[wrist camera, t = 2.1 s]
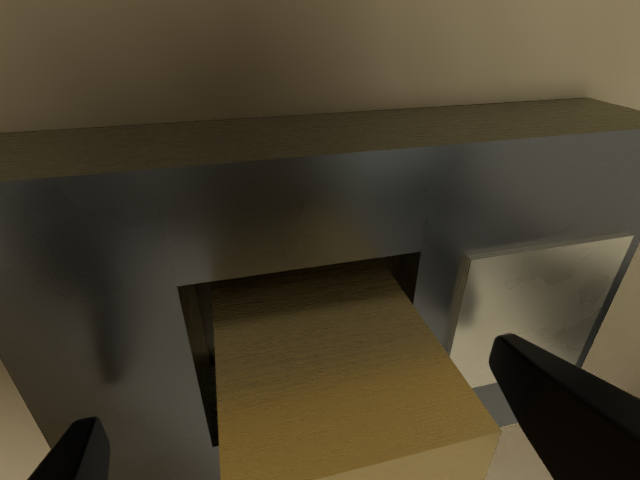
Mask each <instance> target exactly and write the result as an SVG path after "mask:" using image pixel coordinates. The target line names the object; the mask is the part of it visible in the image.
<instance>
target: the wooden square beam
mask: <svg viewBox="0 0 640 480" xmlns="http://www.w3.org/2000/svg"><path fill="white" fill-rule="evenodd" d="M212 301H213V323H214V346H215V368H216V390H217V412H218V435H219V457H220V479H221V480H484V479H485V477H486V474H487V471H488V468H489V466H490V463H491V460H492V458H493V455H494V452H495V449H496V447H497V444H498V441H499V438H500V436H501V433H502V430H501V429H500V428H499V426H498V425H497V423H496V422H495V421H494V419H493V418H492V416H491V415H490V413H489V412H488V411H487V409H486V408H485V406H484V405H483V403H482V402H481V401H480V399H479V398H478V396H477V395H476V394H475V392H474V391H473V389H472V388H471V386H470V385H469V384H468V382H467V381H466V379H465V378H464V377H463V375H462V374H461V372H460V371H459V369H458V368H457V367H456V365H455V364H454V362H453V361H452V359H451V358H450V357H449V355H448V354H447V352H446V351H445V350H444V348H443V347H442V345H441V344H440V342H439V341H438V340H437V338H436V337H435V335H434V334H433V332H432V331H431V330H430V328H429V327H428V325H427V324H426V323H425V321H424V320H423V318H422V317H421V315H420V314H419V313H418V311H417V310H416V308H415V307H414V305H413V304H412V303H411V301H410V300H409V298H408V297H407V296H406V294H405V293H404V291H403V290H402V288H401V287H400V286H399V284H398V283H397V281H396V280H395V278H394V277H393V276H392V274H391V273H390V271H389V270H388V269H387V267H386V266H385V264H384V263H383V261H382V260H381V259H380V257H379V258H372V259H365V260H358V261H351V262H344V263H337V264H330V265H323V266H316V267H309V268H302V269H295V270H288V271H281V272H274V273H267V274H260V275H253V276H246V277H239V278H232V279H225V280H218V281H212Z"/></svg>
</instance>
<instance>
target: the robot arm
mask: <svg viewBox="0 0 640 480" xmlns="http://www.w3.org/2000/svg"><path fill="white" fill-rule="evenodd" d="M489 366H490V369H491V371H492V373H493V375H494V377H495V379H496V381H497V383H498V385H499V387H500V389H501V391H502V393H503V395H504V397H505V398H506V400H507V402H508V404H509V406H510V408H511V410H512V412H513V414H514V416H515V418H516V420H517V421H518V423H519V425H520V427H521V428H522V430H523V432H524V433H525V435H526V437H527V438H528V440H529V441H530V443H531V445H532V446H533V448H534V449H535V451H536V452H537V454H538V455H539V457H540V459H541V460H542V462H543V463H544V465H545V466H546V468H547V470H548V471H549V473H550V474H551V476H552V477H553V479H554V480H640V399H639V398H637V397H635V396H633V395H631V394H629V393H627V392H625V391H623V390H621V389H619V388H618V387H616V386H614V385H612V384H610V383H608V382H606V381H604V380H602V379H600V378H598V377H596V376H595V375H593V374H591V373H589V372H587V371H585V370H583V369H581V368H579V367H577V366H575V365H573V364H572V363H570V362H568V361H566V360H564V359H562V358H560V357H558V356H556V355H554V354H552V353H550V352H548V351H547V350H545V349H543V348H541V347H539V346H537V345H535V344H533V343H531V342H529V341H527V340H525V339H524V338H522V337H520V336H518V335H516V334H513V333H508V334H503V335H498V336H497V337H496V338H495V339H494V342H493V345H492V349H491V352H490V356H489ZM109 462H110V442H109V439H108V436H107V434H106V432H105V429H104V427H103V425H102V423H101V420H100V419H99V418H98V417H97V416H92V417H87V418H82V419H78V420H76V421H74V422H73V423H72V424H71V425H70V426H69V428H68V429H67V430H66V431H65V433H64V434H63V435H62V436H61V438H60V439H59V440H58V441H57V443H56V444H55V445H54V447H53V448H52V449H51V450H50V452H49V453H48V454H47V455H46V457H45V458H44V459H43V460H42V462H41V463H40V464H39V465H38V467H37V468H36V469H35V471H34V472H33V473H32V474H31V476H30V477H29V478H28V479H27V480H108V475H109Z"/></svg>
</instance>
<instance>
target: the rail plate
mask: <svg viewBox="0 0 640 480" xmlns="http://www.w3.org/2000/svg"><path fill="white" fill-rule="evenodd" d="M639 242H640V111H639V110H635V109H631V108H627V107H623V106H619V105H615V104H611V103H607V102H603V101H599V100H595V99H591V98H577V99H561V100H544V101H528V102H511V103H495V104H478V105H462V106H445V107H429V108H412V109H396V110H379V111H363V112H346V113H330V114H313V115H297V116H280V117H264V118H247V119H231V120H214V121H198V122H181V123H164V124H148V125H131V126H115V127H98V128H82V129H65V130H49V131H32V132H16V133H0V358H1V360H2V362H3V364H4V366H5V367H6V369H7V371H8V373H9V375H10V376H11V378H12V380H13V382H14V384H15V385H16V387H17V389H18V391H19V393H20V394H21V396H22V398H23V400H24V401H25V403H26V405H27V407H28V409H29V410H30V412H31V414H32V416H33V418H34V419H35V421H36V423H37V425H38V427H39V428H40V430H41V432H42V434H43V436H44V437H45V439H46V441H47V443H48V445H49V446H50V448H51V449H52V448H53V447H54V445H55V444H56V443H57V441H58V440H59V439H60V438H61V436H62V435H63V434H64V433H65V431H66V430H67V429H68V428H69V426H70V425H71V424H72V423H73V422H74V421H76V420H78V419H82V418H87V417H92V416H97V417H98V418H99V419H100V420H101V423H102V425H103V427H104V429H105V432H106V434H107V436H108V439H109V442H110V462H109V475H108V480H221V479H220V457H219V435H218V412H217V390H216V368H215V361H211V362H210V359H209V354H208V349H207V344H206V338H205V333H204V328H203V323H202V318H201V312H200V307H199V302H198V297H197V292H196V286H195V284H197V283H204V282H211V281H218V280H225V279H232V278H239V277H246V276H253V275H260V274H267V273H274V272H281V271H288V270H295V269H302V268H309V267H316V266H323V265H330V264H337V263H344V262H351V261H358V260H365V259H372V258H379V257H380V259H381V260H382V261H383V263H384V264H385V266H386V267H387V269H388V270H389V271H390V273H391V274H392V276H393V277H394V278H395V280H396V281H397V283H398V284H399V286H400V287H401V288H402V290H403V291H404V293H405V294H406V296H407V297H408V298H409V300H410V301H411V303H412V304H413V305H414V307H415V308H416V310H417V311H418V313H419V314H420V315H421V317H422V318H423V320H424V321H425V323H426V324H427V325H428V327H429V328H430V330H431V331H432V332H433V334H434V335H435V337H436V338H437V340H438V341H439V342H440V344H441V345H442V347H443V348H444V350H445V351H446V352H447V354H448V355H449V357H450V358H451V359H452V361H453V362H454V364H455V365H456V367H457V368H458V369H459V371H460V372H461V374H462V375H463V377H464V378H465V379H466V381H467V382H468V384H469V385H470V386H471V388H472V389H473V391H474V392H475V394H476V395H477V396H478V398H479V399H480V401H481V402H482V403H483V405H484V406H485V408H486V409H487V411H488V412H489V413H490V415H491V416H492V418H493V419H494V421H495V422H496V423H497V425H498V426H499V427H502V426H506V425H509V424H513V423H517V422H518V421H517V420H516V418H515V416H514V414H513V412H512V410H511V408H510V406H509V404H508V402H507V400H506V398H505V397H504V395H503V393H502V391H501V389H500V387H499V385H498V383H497V381H496V379H495V377H494V375H493V373H492V371H491V369H490V366H489V356H490V352H491V349H492V345H493V342H494V339H495V338H496V337H497V336H498V335H503V334H508V333H513V334H516V335H518V336H520V337H522V338H524V339H525V340H527V341H529V342H531V343H533V344H535V345H537V346H539V347H541V348H543V349H545V350H547V351H548V352H550V353H552V354H554V355H556V356H558V357H560V358H562V359H564V360H566V361H568V362H570V363H572V364H573V365H575V366H577V367H579V368H581V367H582V365H583V363H584V361H585V359H586V356H587V354H588V352H589V350H590V348H591V346H592V343H593V341H594V339H595V337H596V335H597V333H598V331H599V328H600V326H601V324H602V322H603V320H604V318H605V315H606V313H607V311H608V309H609V307H610V305H611V303H612V300H613V298H614V296H615V294H616V292H617V290H618V288H619V285H620V283H621V281H622V279H623V277H624V275H625V272H626V270H627V268H628V266H629V264H630V262H631V260H632V257H633V255H634V253H635V251H636V249H637V247H638V244H639Z"/></svg>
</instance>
